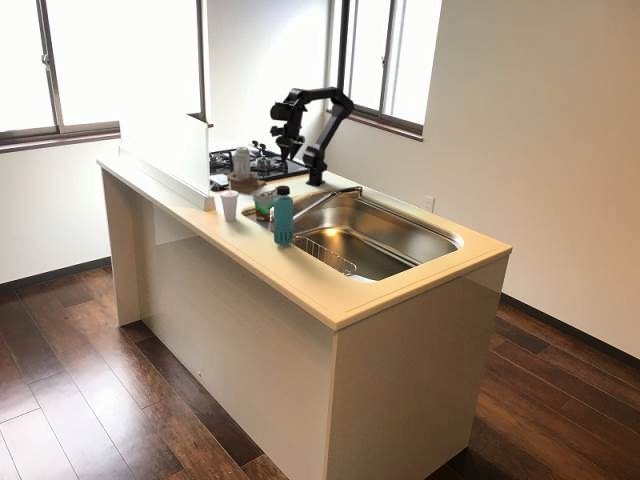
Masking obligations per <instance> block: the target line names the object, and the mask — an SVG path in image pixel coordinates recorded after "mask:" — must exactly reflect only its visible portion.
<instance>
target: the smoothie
mask: <svg viewBox="0 0 640 480" xmlns="http://www.w3.org/2000/svg"><path fill="white" fill-rule="evenodd" d="M219 197H220V199H221V205H222V209H223V215H224V220H225V221H228V222H230V221H231V222H232V221H235V220H237V219H236V218H237V206H238V197H239V192H236V191H233V190H231V186H230V181H229V190H224V191H223V190H222V191H221V192H220V193H219Z"/></svg>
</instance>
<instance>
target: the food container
mask: <svg viewBox="0 0 640 480" xmlns="http://www.w3.org/2000/svg"><path fill="white" fill-rule="evenodd" d="M277 187H278V186H275V189H273V190H272V189H271V190H270V191H264V192H263V193H262V194H259V195H256V194H254V195H253V200H252V201H253V202H254V210H255V217H256V221H258V222H261V223H269V222H270V209H271V208H272V207H274V202H273V200H274V199H275V198H276V197H277V196H280V195H278V194H277Z"/></svg>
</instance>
